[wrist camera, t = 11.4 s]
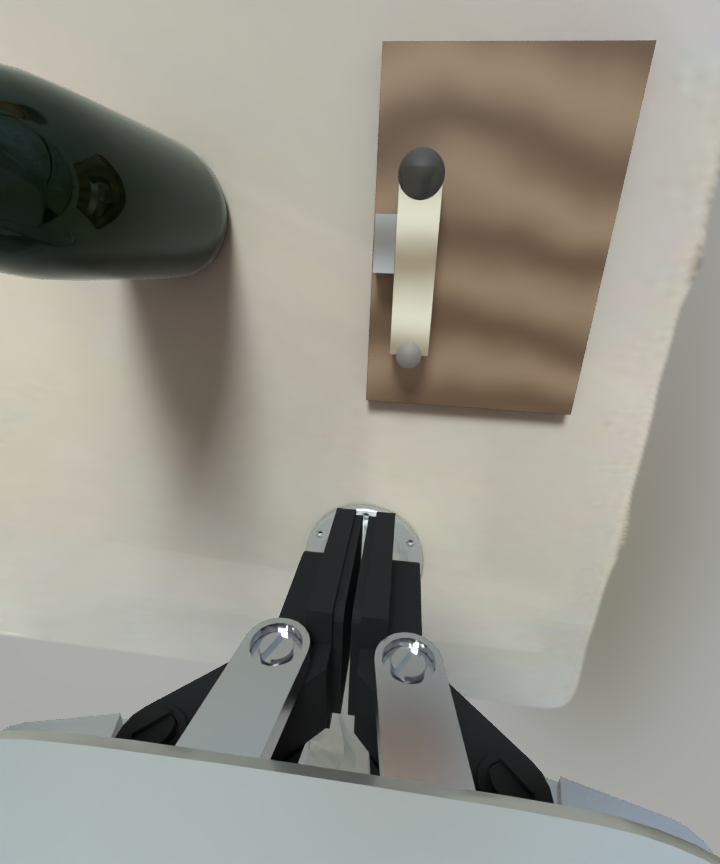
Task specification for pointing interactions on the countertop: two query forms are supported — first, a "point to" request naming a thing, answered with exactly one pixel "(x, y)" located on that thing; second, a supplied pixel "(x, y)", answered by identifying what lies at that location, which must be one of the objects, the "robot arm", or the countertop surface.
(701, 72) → the countertop surface
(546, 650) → the countertop surface
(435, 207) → the folding leg
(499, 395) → the brown wooden flat board
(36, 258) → the green wine bottle
